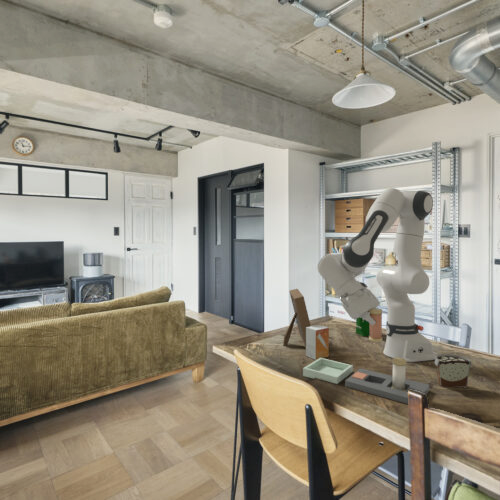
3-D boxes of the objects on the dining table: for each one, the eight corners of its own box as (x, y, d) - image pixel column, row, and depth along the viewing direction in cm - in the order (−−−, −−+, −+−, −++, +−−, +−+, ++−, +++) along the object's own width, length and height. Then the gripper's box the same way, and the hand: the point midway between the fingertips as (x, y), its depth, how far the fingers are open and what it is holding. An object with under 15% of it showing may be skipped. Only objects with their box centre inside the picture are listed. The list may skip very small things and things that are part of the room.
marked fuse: (379, 338, 126) (379, 308, 126) (384, 342, 122) (384, 310, 121) (367, 338, 126) (367, 308, 126) (371, 342, 122) (371, 311, 121)
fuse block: (345, 387, 125) (345, 380, 124) (360, 374, 135) (360, 367, 135) (418, 408, 110) (418, 400, 109) (428, 392, 120) (429, 384, 120)
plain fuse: (402, 388, 122) (403, 357, 121) (407, 394, 118) (408, 362, 117) (389, 388, 122) (390, 357, 121) (394, 394, 118) (395, 362, 117)
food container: (460, 379, 130) (460, 353, 129) (471, 387, 124) (471, 359, 123) (427, 380, 130) (427, 353, 129) (436, 388, 123) (437, 360, 123)
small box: (315, 360, 151) (315, 330, 150) (305, 356, 156) (305, 327, 156) (329, 356, 155) (329, 327, 155) (318, 352, 161) (318, 324, 160)
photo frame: (308, 335, 187) (308, 288, 185) (315, 349, 165) (315, 296, 163) (280, 335, 187) (279, 288, 185) (284, 349, 165) (283, 296, 163)
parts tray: (303, 375, 135) (303, 368, 135) (320, 364, 146) (320, 357, 146) (337, 385, 126) (337, 377, 126) (352, 372, 137) (352, 365, 137)
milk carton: (377, 335, 185) (377, 297, 183) (362, 337, 182) (363, 298, 181) (367, 331, 193) (367, 294, 192) (352, 332, 190) (353, 295, 189)
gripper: (344, 290, 119) (373, 323, 114) (366, 282, 135) (393, 311, 129) (332, 302, 122) (359, 334, 117) (355, 293, 138) (380, 321, 133)
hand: (377, 322), depth 123 cm, fingers closed on marked fuse, 4 cm apart
